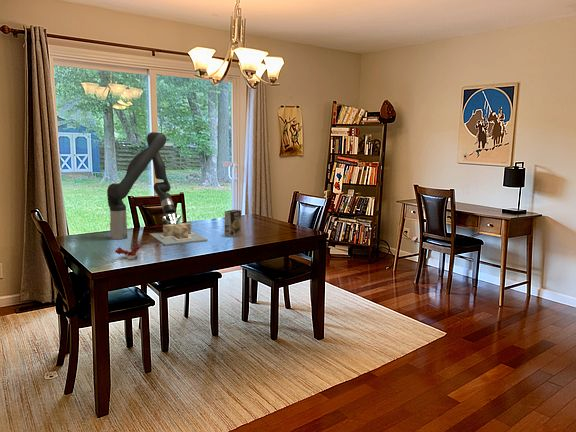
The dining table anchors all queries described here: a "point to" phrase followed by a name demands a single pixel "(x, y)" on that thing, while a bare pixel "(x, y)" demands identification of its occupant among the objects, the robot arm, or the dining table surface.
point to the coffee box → (232, 223)
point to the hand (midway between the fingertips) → (175, 229)
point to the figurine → (129, 251)
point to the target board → (175, 241)
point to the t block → (177, 230)
